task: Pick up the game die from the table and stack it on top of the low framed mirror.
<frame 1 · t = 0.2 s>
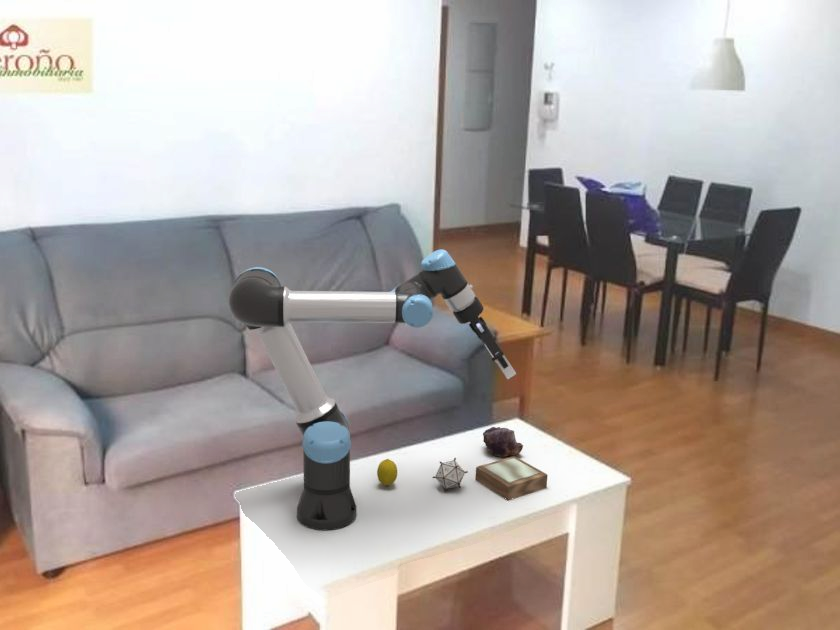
hand: (506, 368, 229), 35 cm above the table, tool tilted 35°, fingers open, 13 cm apart
rock: (499, 454, 259), on the table
lemon: (387, 486, 237), on the table
framed mirror: (510, 483, 240), on the table
game die: (449, 488, 237), on the table
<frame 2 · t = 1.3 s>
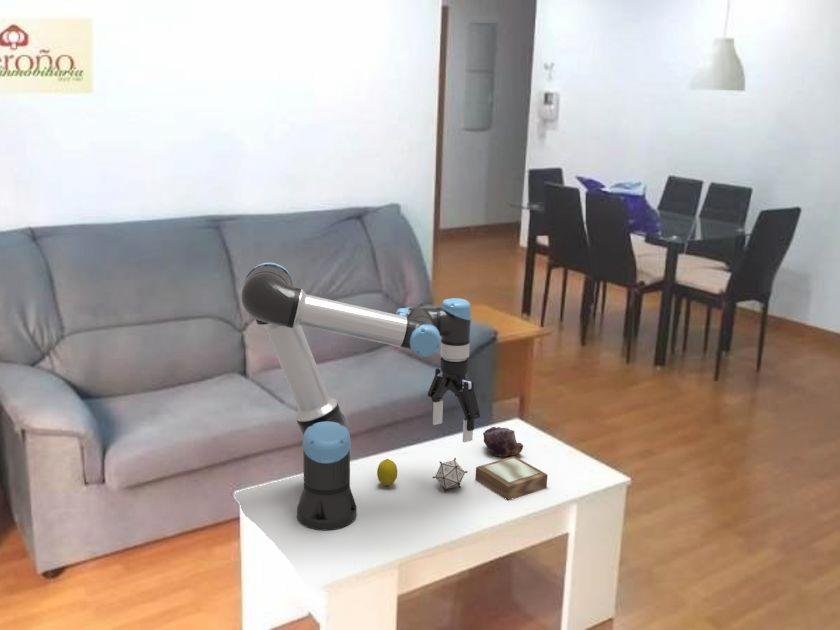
hand: (452, 432, 233), 16 cm above the table, tool pointing down, fingers open, 13 cm apart
nothing on the table moved.
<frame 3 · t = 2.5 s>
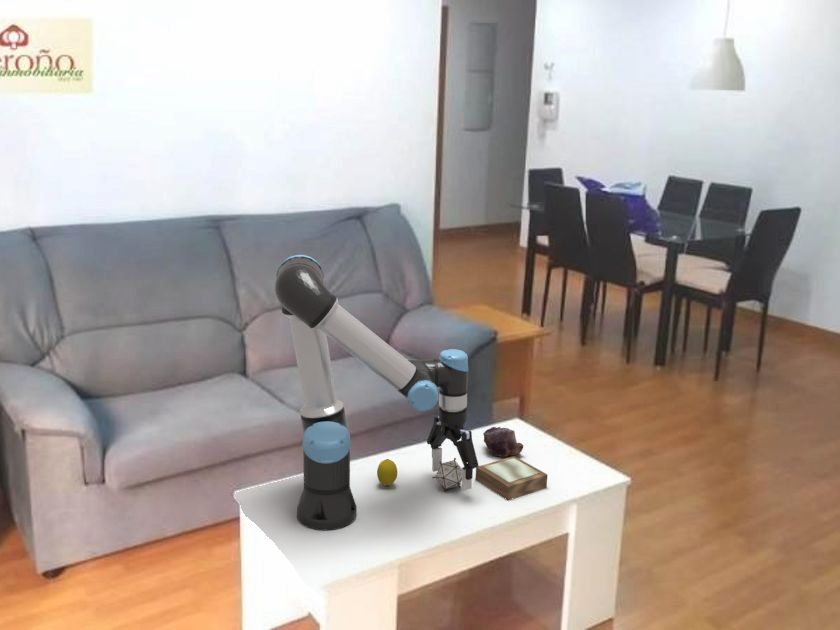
hand: (451, 479, 236), 2 cm above the table, tool pointing down, fingers open, 13 cm apart
nothing on the table moved.
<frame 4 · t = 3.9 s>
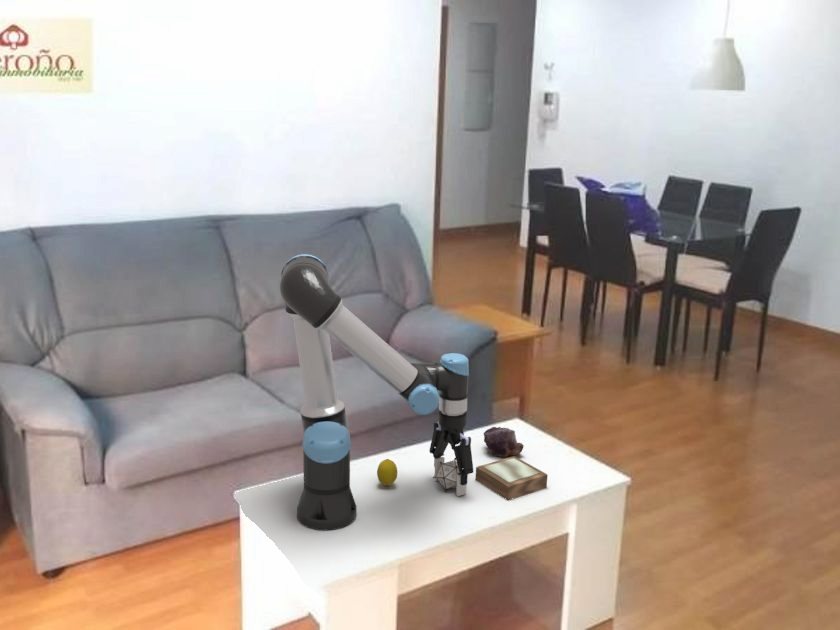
hand: (449, 486, 237), 0 cm above the table, tool pointing down, fingers closed on game die, 9 cm apart
game die: (449, 488, 237), on the table, touching gripper
everything else where it was.
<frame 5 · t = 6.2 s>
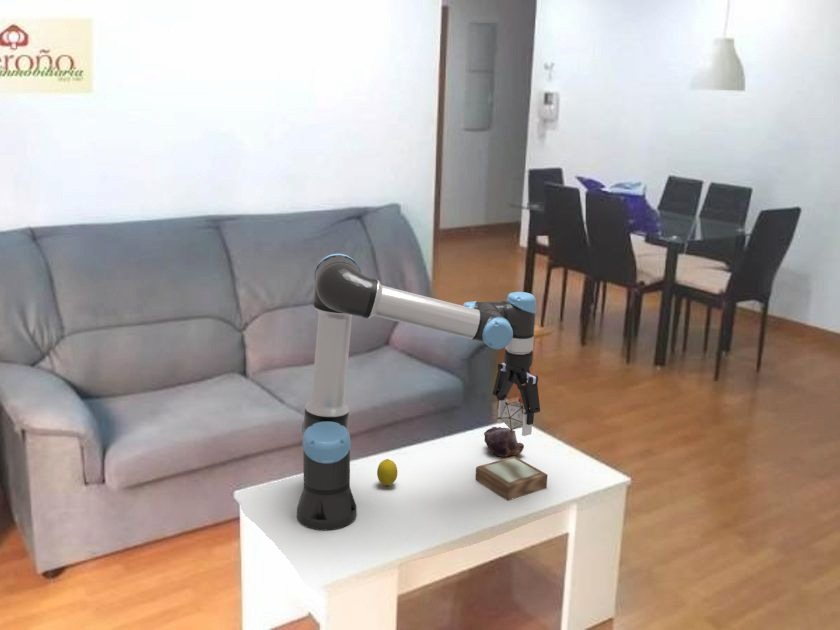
hand: (514, 428, 236), 17 cm above the table, tool pointing down, fingers closed on game die, 9 cm apart
game die: (514, 429, 236), point 16 cm above the table, touching gripper
everything else where it was.
when the fingers open (5 cm above the table, at t = 8.3 s): game die stays where it is, resting on framed mirror.
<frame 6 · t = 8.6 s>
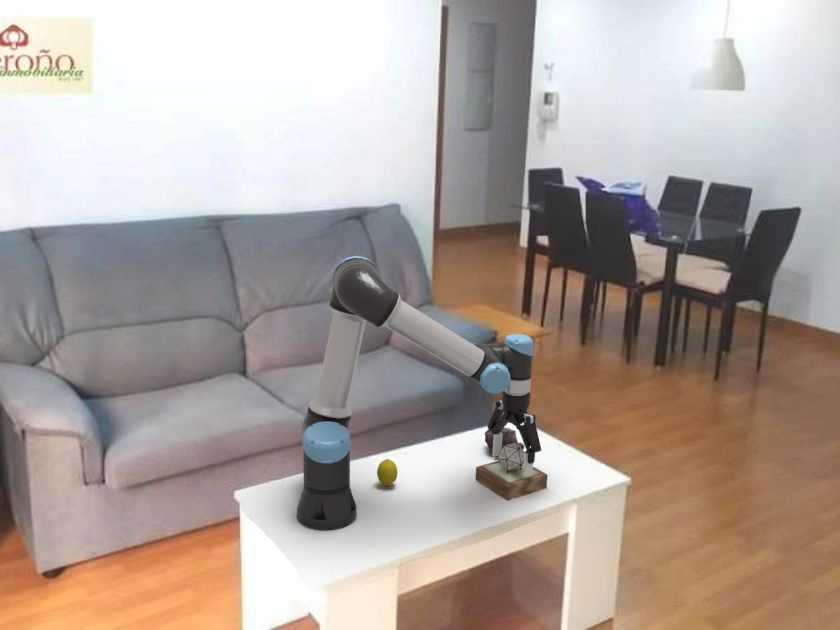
hand: (511, 464, 239), 6 cm above the table, tool pointing down, fingers open, 12 cm apart
game die: (511, 470, 239), point 4 cm above the table, touching framed mirror
everything else where it was.
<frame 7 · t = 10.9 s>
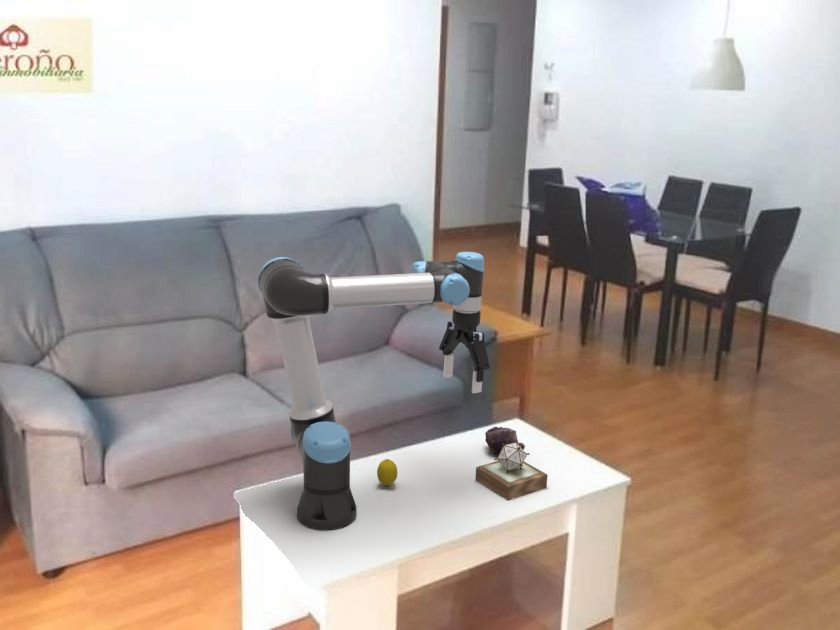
hand: (461, 384, 237), 27 cm above the table, tool pointing down, fingers open, 13 cm apart
nothing on the table moved.
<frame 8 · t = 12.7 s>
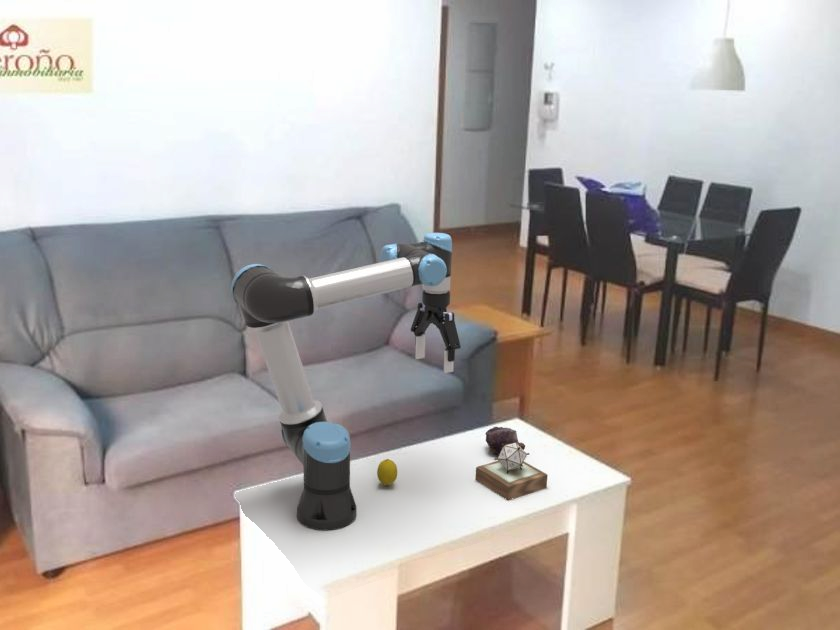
hand: (433, 365, 239), 32 cm above the table, tool pointing down, fingers open, 13 cm apart
nothing on the table moved.
at the end: game die 0.1 cm from the framed mirror (horizontally); game die touching framed mirror; game die point 4.1 cm above the table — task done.
